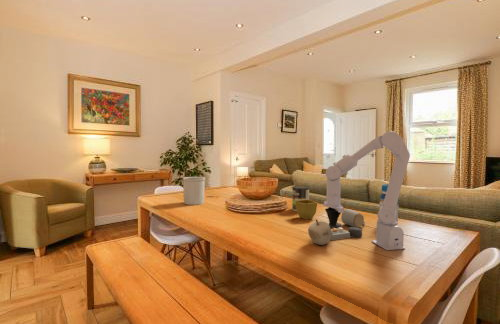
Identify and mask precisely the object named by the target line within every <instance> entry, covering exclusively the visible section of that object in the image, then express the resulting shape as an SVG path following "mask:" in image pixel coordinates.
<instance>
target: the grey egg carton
mask: <svg viewBox="0 0 500 324" xmlns="http://www.w3.org/2000/svg"><path fill="white" fill-rule="evenodd" d="M349 238H351V237H350V232H348V230H345V229H344V228H343V227H342V226H341V227H340V228H333V229H331V238H330V241H336V240H343V239H349Z"/></svg>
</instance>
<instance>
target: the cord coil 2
mask: <svg viewBox="0 0 500 324" xmlns="http://www.w3.org/2000/svg"><path fill="white" fill-rule="evenodd" d="M347 232H350V238H357V239H358V238H362V236H363V229H362V228H360V227H358V228H357V227H353V226H350V227H348V228H347Z"/></svg>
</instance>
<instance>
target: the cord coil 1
mask: <svg viewBox="0 0 500 324" xmlns="http://www.w3.org/2000/svg"><path fill="white" fill-rule="evenodd" d="M328 225H329V226H330V228H331V229H333V228H340V227H341V228H342V223H340V222H337V224H336V226H331V225H330V223H329V222H328Z"/></svg>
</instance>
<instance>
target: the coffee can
mask: <svg viewBox="0 0 500 324" xmlns="http://www.w3.org/2000/svg"><path fill="white" fill-rule="evenodd" d="M291 188H292V201H291V202H292V205H291V206H292V208H291V210H292V211H294V212H297V210H296V203H295V201H298V200H310V187H309V186H307V185H294V186H293V185H292V187H291Z"/></svg>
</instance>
